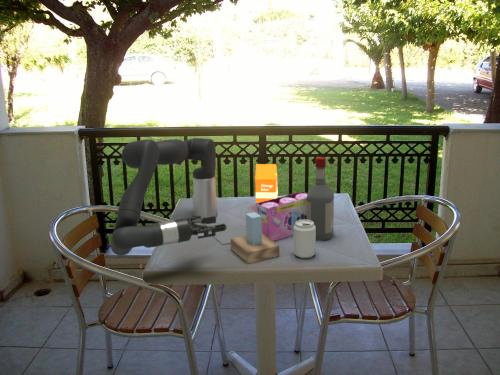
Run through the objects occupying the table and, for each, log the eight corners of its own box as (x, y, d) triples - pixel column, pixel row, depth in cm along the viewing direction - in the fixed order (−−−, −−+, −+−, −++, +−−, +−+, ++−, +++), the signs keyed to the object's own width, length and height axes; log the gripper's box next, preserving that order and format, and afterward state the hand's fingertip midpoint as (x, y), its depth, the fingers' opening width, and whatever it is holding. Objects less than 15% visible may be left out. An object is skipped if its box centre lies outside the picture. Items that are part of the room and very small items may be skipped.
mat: (222, 244, 190) (222, 244, 189) (208, 232, 202) (208, 232, 202) (256, 237, 195) (256, 236, 195) (241, 225, 207) (241, 225, 207)
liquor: (334, 232, 198) (335, 155, 189) (330, 241, 189) (331, 161, 181) (310, 230, 200) (310, 154, 192) (305, 239, 192) (305, 160, 183)
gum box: (305, 222, 209) (305, 190, 205) (318, 228, 203) (318, 195, 199) (256, 236, 196) (255, 202, 192) (268, 243, 190) (267, 208, 186)
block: (253, 245, 178) (252, 218, 175) (246, 240, 182) (245, 213, 179) (262, 243, 179) (261, 216, 177) (255, 238, 184) (254, 212, 181)
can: (301, 261, 174) (301, 227, 171) (289, 253, 181) (289, 220, 177) (319, 256, 177) (320, 223, 174) (307, 248, 184) (307, 216, 180)
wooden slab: (248, 263, 174) (247, 252, 172) (231, 249, 186) (230, 238, 184) (279, 256, 179) (279, 245, 177) (260, 242, 191) (260, 232, 189)
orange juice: (258, 205, 231) (257, 162, 225) (278, 205, 230) (277, 162, 224) (256, 211, 224) (254, 166, 218) (276, 211, 222) (275, 166, 216)
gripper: (180, 227, 159) (228, 218, 166) (166, 214, 172) (211, 206, 178) (181, 250, 161) (229, 240, 168) (168, 235, 174) (212, 227, 180)
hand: (220, 222), depth 173 cm, fingers open, 8 cm apart
